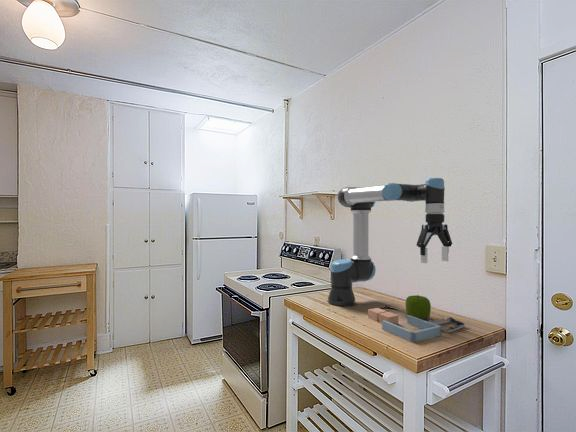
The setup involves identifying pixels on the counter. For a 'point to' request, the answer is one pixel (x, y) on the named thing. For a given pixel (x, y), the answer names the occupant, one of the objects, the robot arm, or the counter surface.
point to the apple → (418, 306)
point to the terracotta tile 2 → (388, 317)
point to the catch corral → (427, 331)
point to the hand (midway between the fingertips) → (434, 262)
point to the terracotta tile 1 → (375, 313)
